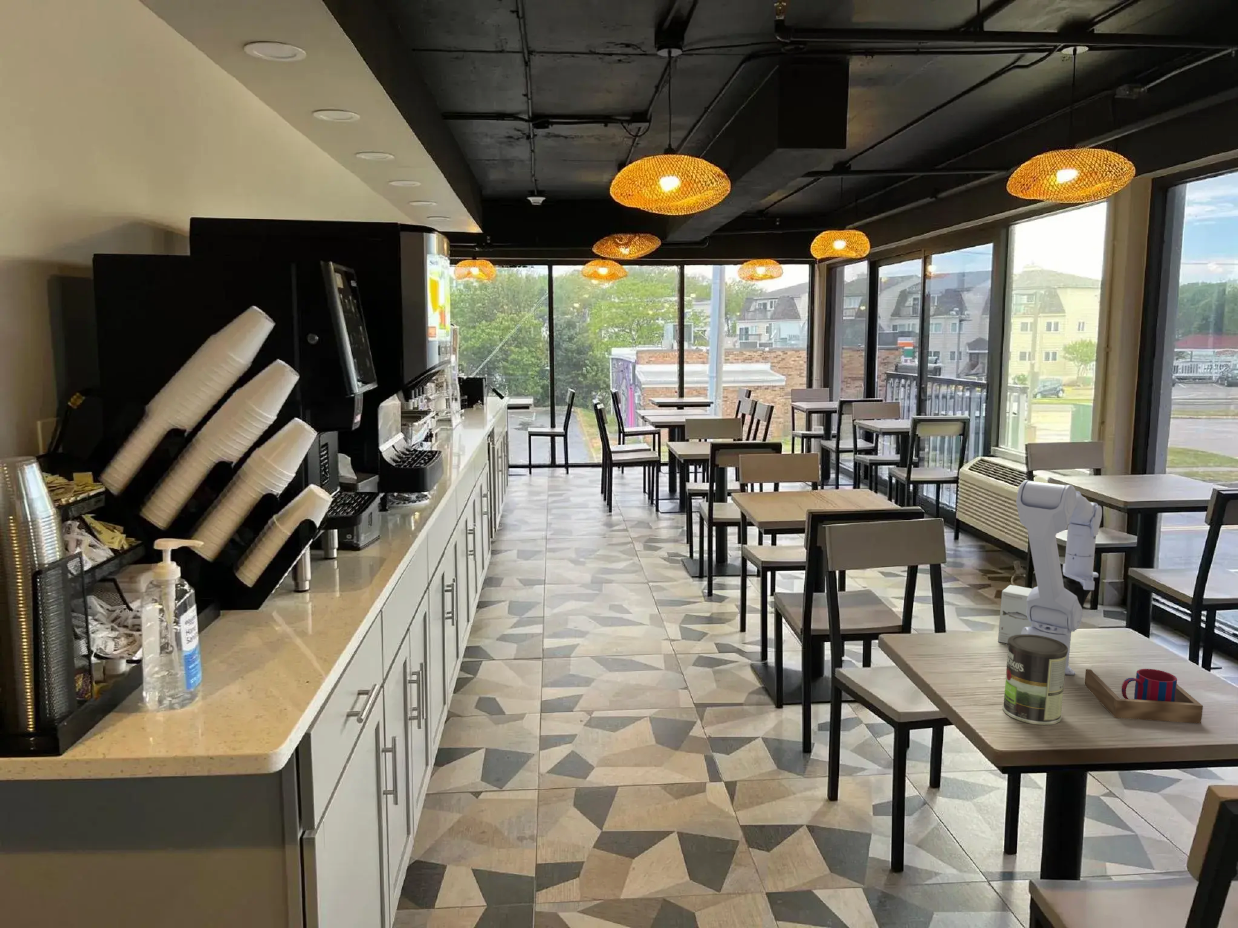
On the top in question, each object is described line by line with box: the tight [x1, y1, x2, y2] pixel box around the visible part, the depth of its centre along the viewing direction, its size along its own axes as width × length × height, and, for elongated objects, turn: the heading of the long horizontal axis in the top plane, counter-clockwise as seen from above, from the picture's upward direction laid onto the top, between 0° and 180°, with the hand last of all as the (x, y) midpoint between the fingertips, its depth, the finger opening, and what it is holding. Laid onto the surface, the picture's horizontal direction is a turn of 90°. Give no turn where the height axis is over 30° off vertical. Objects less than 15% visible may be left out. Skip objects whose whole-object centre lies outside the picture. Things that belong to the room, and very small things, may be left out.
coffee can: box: [1002, 634, 1068, 726], centre depth 164 cm, size 10×10×14 cm
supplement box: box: [997, 584, 1033, 644], centre depth 203 cm, size 7×7×13 cm
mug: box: [1121, 668, 1178, 702], centre depth 167 cm, size 7×10×7 cm
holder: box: [1084, 668, 1204, 724], centre depth 170 cm, size 15×16×4 cm
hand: (1075, 611), depth 197 cm, fingers closed
